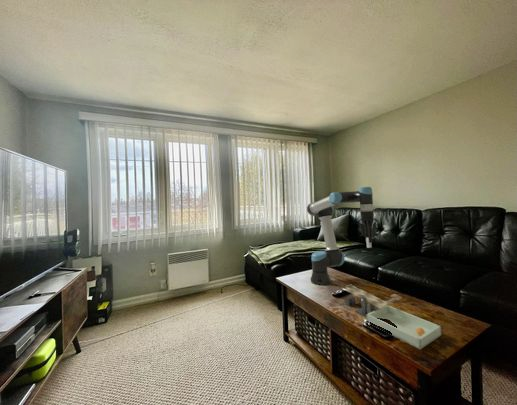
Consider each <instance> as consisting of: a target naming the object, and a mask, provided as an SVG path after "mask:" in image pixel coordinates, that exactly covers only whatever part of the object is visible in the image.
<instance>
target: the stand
mask: <svg viewBox="0 0 517 405" xmlns="http://www.w3.org/2000/svg"><path fill="white" fill-rule="evenodd" d="M370 294H371V295H373V296H375V294H374V293H370ZM375 297H376V296H375ZM360 299H361V308H359V309H358V308H357V309H356V310H355V313H356V314H359V315H361V316H362V317H365V318H366V314H368V313H370V312H373V311H375V310H377V309H376V306H375V305H373V304H371V303H369V305H367V304H368V302H367V301H366V298H365V297H361V298H360ZM345 305H346V306H349V307H351V306H354V305H356V296H353V295H349V296H346V297H345Z"/></svg>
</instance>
